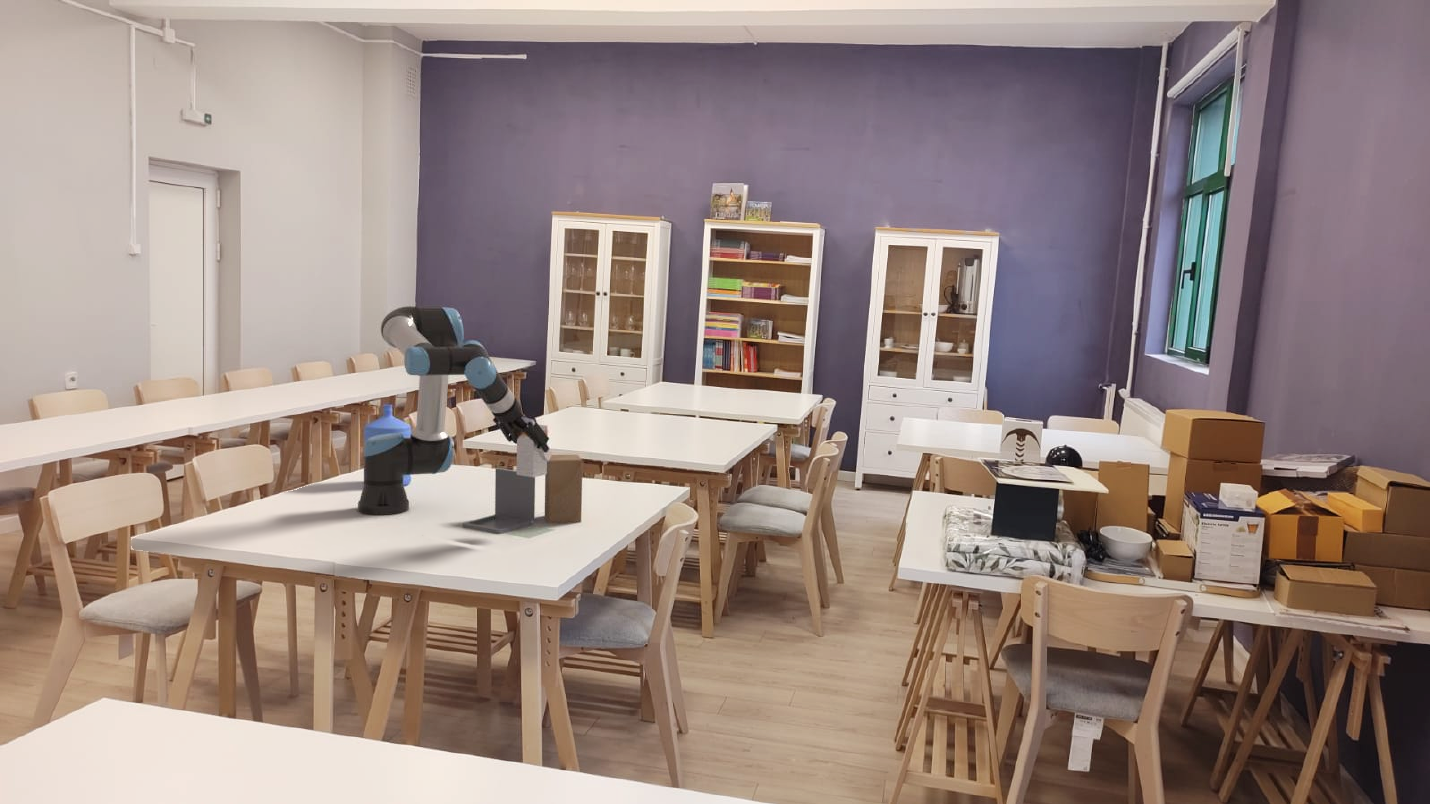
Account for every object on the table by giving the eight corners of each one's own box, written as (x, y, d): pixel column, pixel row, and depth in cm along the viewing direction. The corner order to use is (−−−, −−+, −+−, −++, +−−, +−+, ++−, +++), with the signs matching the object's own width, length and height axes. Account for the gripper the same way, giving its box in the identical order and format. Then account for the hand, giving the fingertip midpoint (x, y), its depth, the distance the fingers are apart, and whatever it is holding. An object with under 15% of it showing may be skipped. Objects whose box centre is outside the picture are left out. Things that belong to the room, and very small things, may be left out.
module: (516, 474, 281) (516, 425, 279) (530, 471, 286) (530, 423, 284) (533, 477, 278) (534, 427, 276) (546, 474, 283) (547, 425, 282)
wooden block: (547, 526, 295) (548, 460, 293) (544, 518, 304) (545, 454, 302) (581, 525, 297) (582, 459, 295) (576, 518, 307) (578, 454, 305)
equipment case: (462, 529, 287) (462, 475, 285) (497, 520, 300) (498, 468, 299) (500, 537, 280) (500, 481, 279) (534, 526, 294) (535, 473, 292)
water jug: (364, 480, 353) (364, 402, 350) (410, 479, 358) (411, 402, 354) (363, 489, 338) (362, 407, 335) (411, 487, 343) (411, 407, 340)
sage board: (506, 537, 281) (506, 533, 280) (533, 529, 291) (533, 525, 291) (528, 541, 277) (528, 537, 277) (555, 533, 287) (555, 529, 287)
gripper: (469, 411, 271) (508, 462, 287) (524, 417, 262) (560, 470, 278) (482, 391, 275) (520, 442, 291) (537, 396, 266) (572, 449, 282)
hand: (540, 456), depth 285 cm, fingers closed on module, 6 cm apart
